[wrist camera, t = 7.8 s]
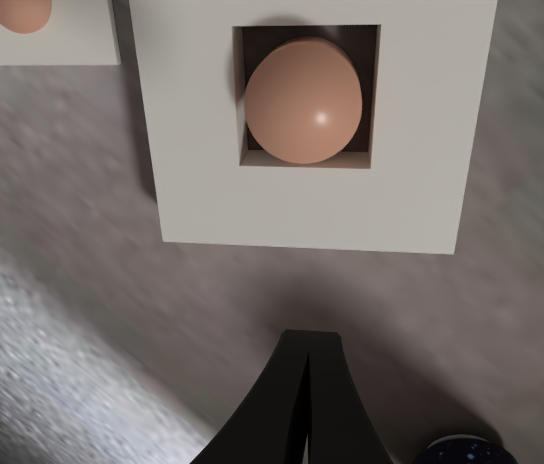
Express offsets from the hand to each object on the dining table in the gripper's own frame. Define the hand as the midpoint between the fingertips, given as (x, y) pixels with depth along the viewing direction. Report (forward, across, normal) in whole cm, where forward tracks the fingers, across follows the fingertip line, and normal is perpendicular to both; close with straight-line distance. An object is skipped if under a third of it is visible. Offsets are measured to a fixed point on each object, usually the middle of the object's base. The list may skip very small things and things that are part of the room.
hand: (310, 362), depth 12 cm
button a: (+10, +1, -4) cm, 11 cm away
